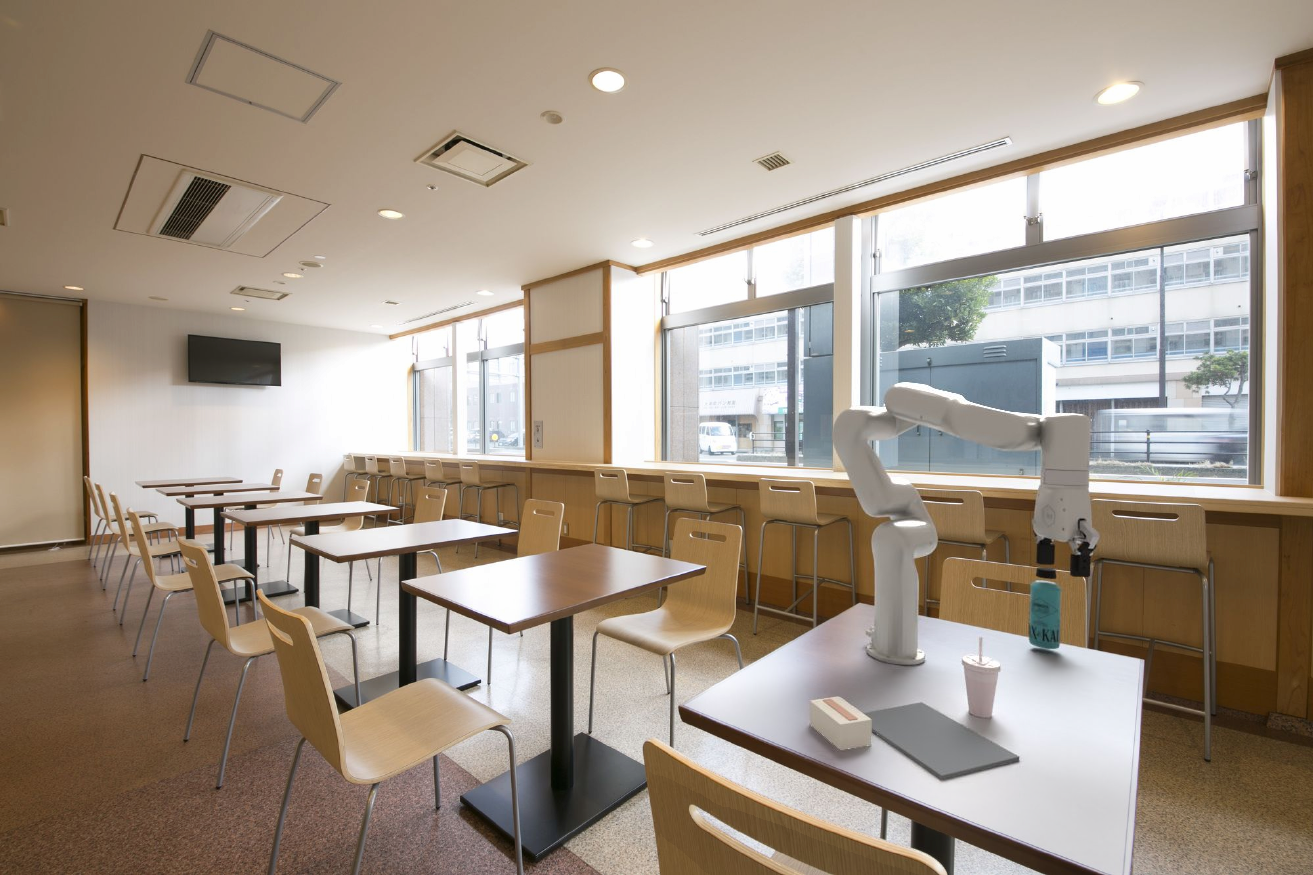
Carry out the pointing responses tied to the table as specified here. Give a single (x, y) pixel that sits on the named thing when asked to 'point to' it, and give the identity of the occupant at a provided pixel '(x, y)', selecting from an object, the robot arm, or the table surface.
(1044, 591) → the beverage bottle
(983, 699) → the smoothie
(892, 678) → the table surface
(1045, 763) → the table surface
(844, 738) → the card box
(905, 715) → the mat
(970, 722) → the table surface
